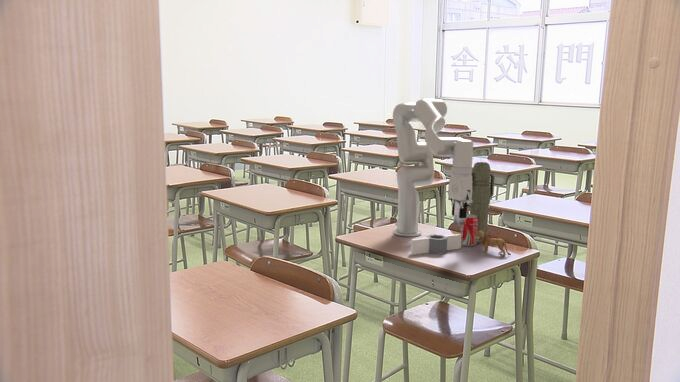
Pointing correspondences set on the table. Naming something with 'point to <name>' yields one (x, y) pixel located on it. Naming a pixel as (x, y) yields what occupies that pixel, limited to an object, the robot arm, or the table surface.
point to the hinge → (435, 244)
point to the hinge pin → (456, 214)
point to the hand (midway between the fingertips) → (459, 216)
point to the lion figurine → (490, 242)
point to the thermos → (481, 194)
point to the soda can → (469, 231)
